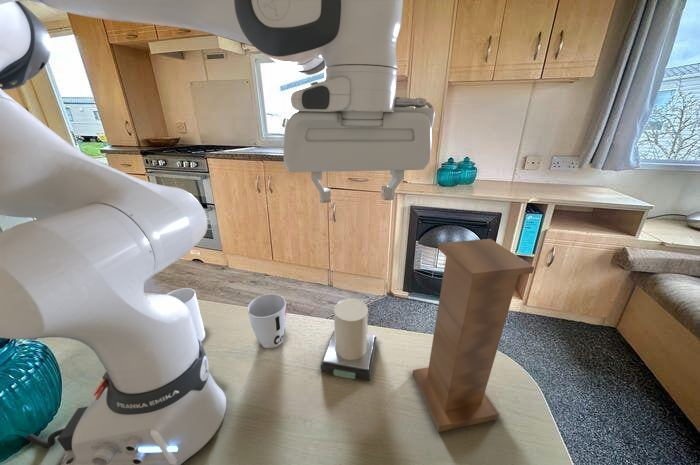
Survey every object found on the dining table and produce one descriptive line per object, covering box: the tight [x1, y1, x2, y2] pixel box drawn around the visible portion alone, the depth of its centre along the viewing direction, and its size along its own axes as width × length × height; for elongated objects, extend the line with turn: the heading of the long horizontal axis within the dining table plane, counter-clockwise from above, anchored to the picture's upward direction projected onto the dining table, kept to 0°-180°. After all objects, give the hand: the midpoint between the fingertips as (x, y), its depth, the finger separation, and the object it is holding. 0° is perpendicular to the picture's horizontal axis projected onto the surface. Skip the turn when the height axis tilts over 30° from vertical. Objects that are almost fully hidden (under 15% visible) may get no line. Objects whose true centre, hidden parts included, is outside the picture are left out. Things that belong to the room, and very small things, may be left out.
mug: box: [165, 287, 206, 343], centre depth 60 cm, size 10×7×12 cm, turn 178°
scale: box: [320, 330, 377, 382], centre depth 59 cm, size 10×10×3 cm
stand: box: [412, 238, 535, 433], centre depth 46 cm, size 11×11×30 cm
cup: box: [246, 293, 287, 349], centre depth 62 cm, size 8×8×10 cm
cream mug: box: [333, 298, 369, 360], centre depth 58 cm, size 7×9×10 cm
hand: (356, 200), depth 41 cm, fingers open, 8 cm apart
